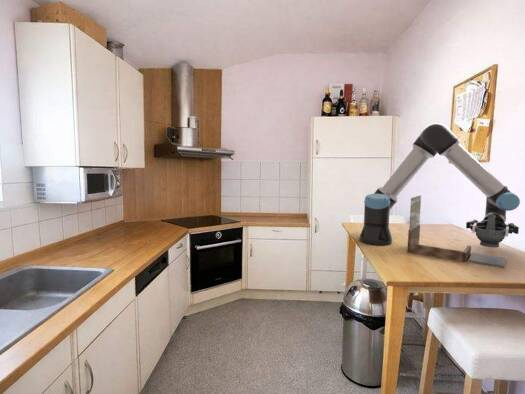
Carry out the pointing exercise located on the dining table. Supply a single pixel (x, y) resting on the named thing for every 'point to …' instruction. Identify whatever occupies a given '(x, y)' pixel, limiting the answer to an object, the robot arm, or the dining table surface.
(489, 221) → the mortar and pestle
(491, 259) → the slate pad
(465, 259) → the brown piece
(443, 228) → the dining table surface
